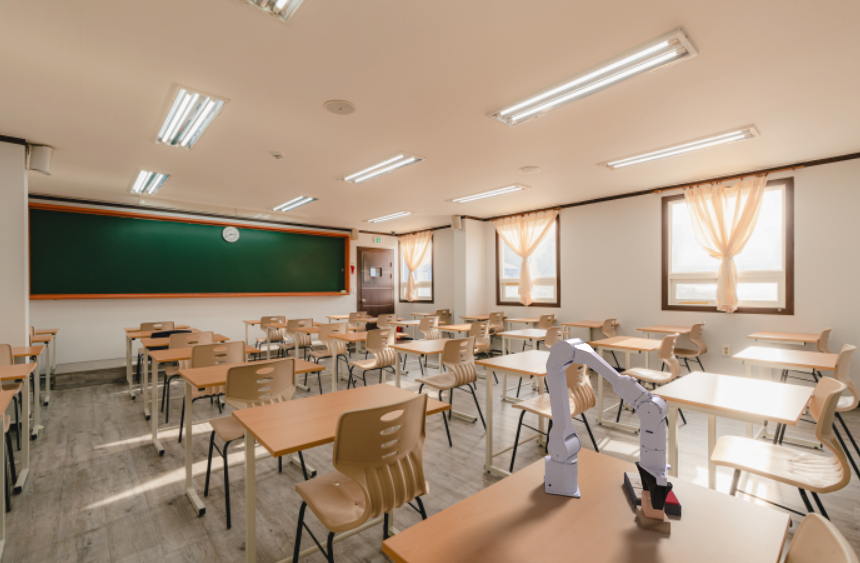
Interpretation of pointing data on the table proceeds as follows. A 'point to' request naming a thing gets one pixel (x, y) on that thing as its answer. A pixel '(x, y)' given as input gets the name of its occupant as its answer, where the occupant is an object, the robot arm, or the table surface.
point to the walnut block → (653, 522)
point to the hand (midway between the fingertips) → (652, 500)
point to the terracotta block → (650, 507)
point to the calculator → (635, 493)
